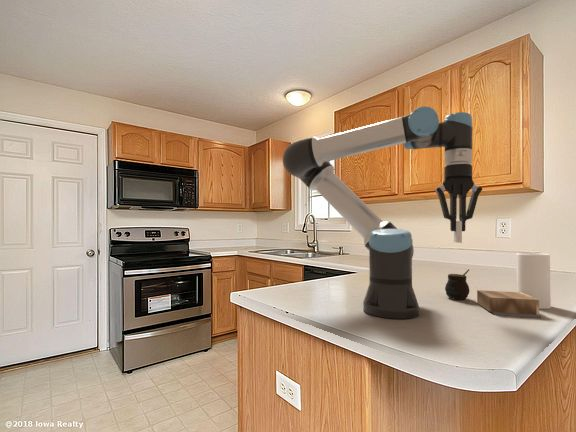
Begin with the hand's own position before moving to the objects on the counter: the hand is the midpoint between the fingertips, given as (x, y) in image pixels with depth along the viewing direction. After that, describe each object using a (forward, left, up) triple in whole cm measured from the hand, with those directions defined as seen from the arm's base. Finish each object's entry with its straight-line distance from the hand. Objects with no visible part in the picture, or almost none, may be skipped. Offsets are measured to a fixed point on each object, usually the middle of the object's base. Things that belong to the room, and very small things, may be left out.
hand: (457, 242), depth 96 cm
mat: (+13, 0, -20) cm, 23 cm away
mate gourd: (+3, +12, -20) cm, 23 cm away
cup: (+23, +8, -20) cm, 32 cm away
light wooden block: (+7, 0, -17) cm, 18 cm away
